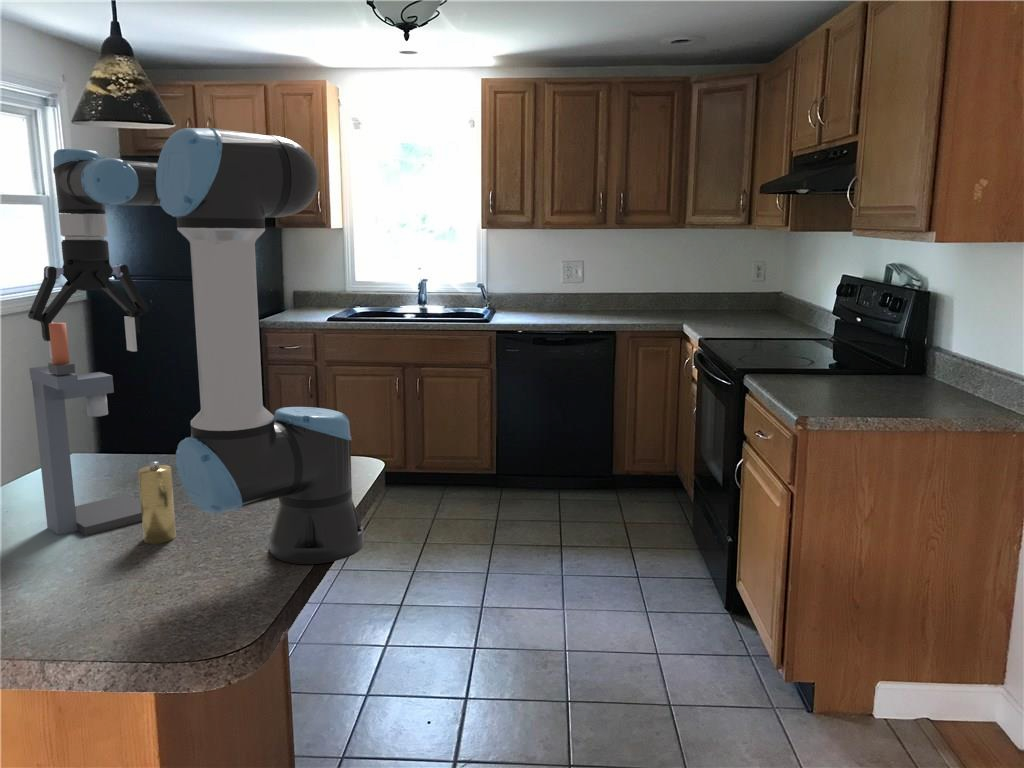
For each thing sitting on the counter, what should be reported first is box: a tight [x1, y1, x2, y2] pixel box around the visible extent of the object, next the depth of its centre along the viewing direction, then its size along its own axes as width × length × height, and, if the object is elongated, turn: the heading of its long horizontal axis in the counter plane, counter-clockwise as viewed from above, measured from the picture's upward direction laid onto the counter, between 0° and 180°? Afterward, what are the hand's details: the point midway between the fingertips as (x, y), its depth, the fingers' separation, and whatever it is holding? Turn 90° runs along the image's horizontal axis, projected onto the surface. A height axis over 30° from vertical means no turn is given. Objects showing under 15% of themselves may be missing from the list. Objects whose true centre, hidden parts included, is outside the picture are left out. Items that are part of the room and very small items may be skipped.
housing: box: [137, 460, 177, 545], centre depth 133 cm, size 5×5×13 cm
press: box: [28, 365, 142, 536], centre depth 139 cm, size 15×15×28 cm
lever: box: [47, 322, 76, 375], centre depth 127 cm, size 4×3×8 cm
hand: (95, 354), depth 149 cm, fingers open, 13 cm apart
